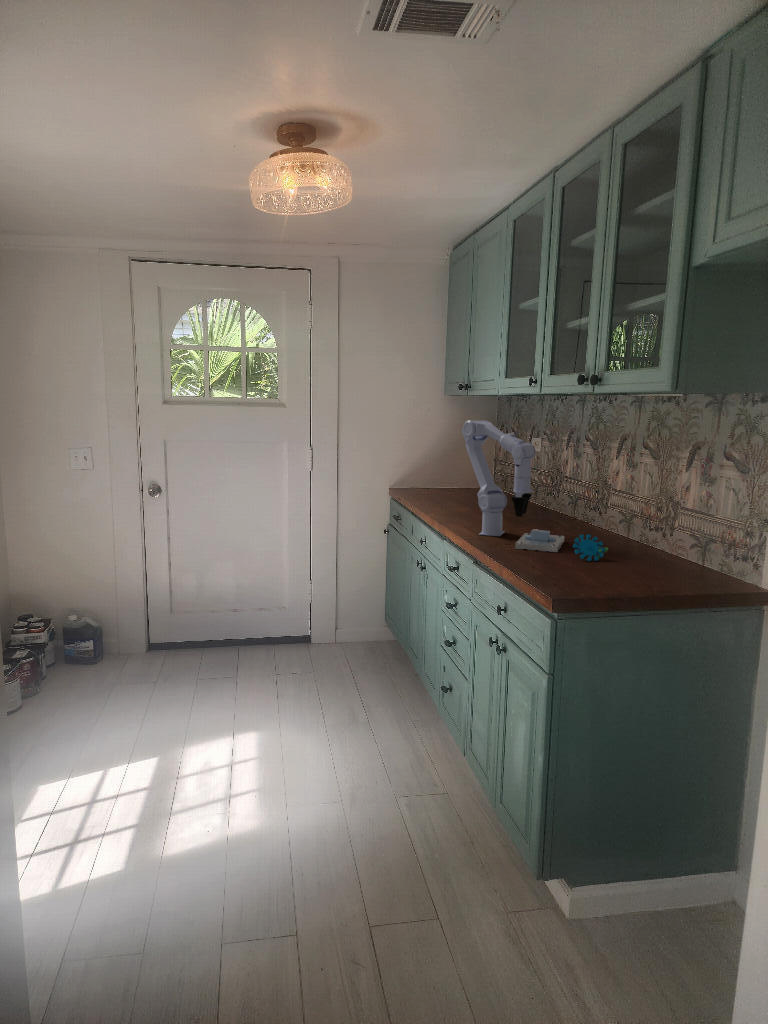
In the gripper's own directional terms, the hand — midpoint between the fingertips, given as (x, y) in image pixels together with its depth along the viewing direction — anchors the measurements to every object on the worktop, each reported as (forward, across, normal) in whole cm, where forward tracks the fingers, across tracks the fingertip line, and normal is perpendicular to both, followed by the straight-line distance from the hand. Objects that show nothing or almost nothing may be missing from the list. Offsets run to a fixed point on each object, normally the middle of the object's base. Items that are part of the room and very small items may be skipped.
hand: (520, 514), depth 244 cm
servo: (+10, -5, -8) cm, 13 cm away
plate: (+9, -5, -8) cm, 13 cm away
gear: (+10, -21, -26) cm, 35 cm away
